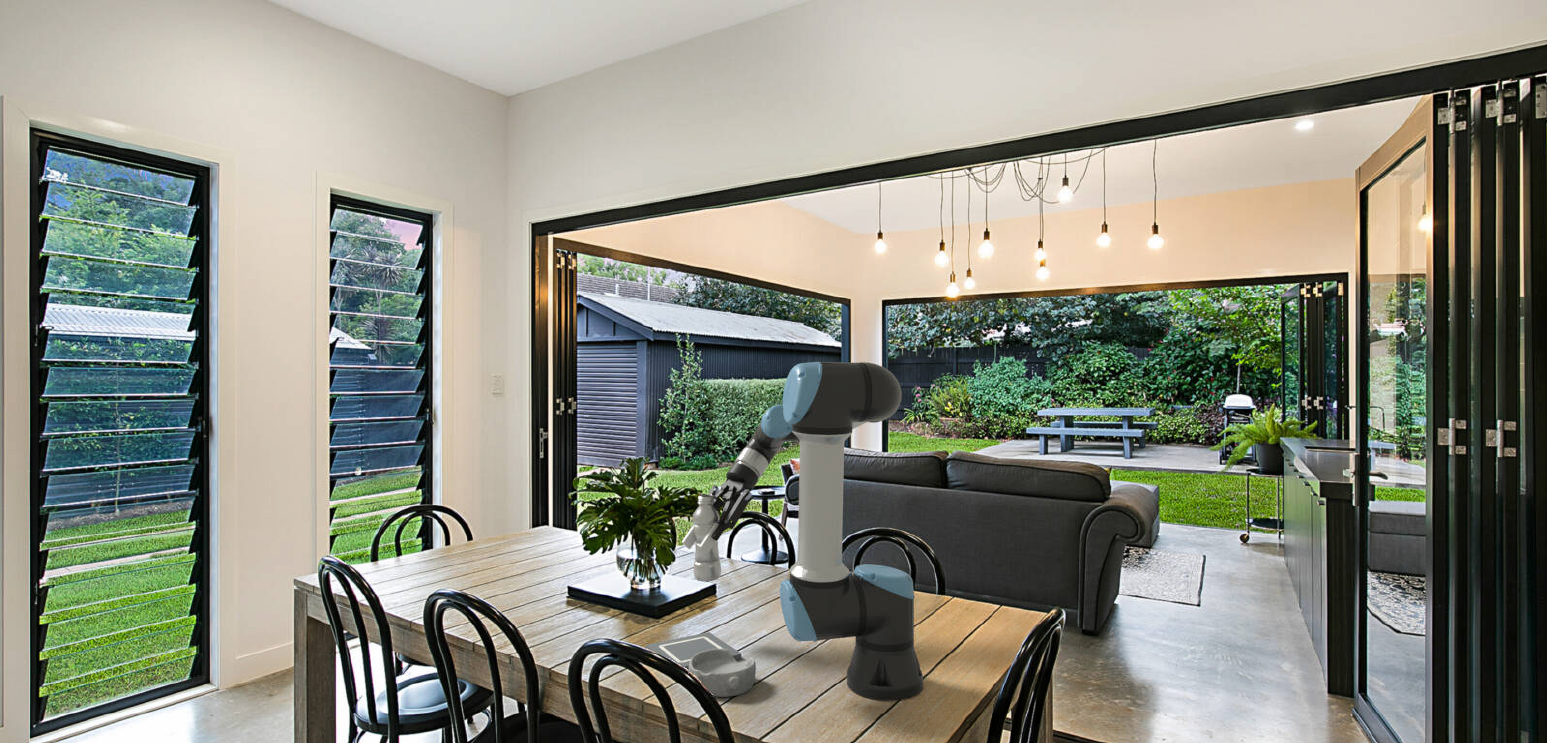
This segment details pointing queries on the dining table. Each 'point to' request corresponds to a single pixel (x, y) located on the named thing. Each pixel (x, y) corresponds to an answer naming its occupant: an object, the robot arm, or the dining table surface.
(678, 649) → the slate board
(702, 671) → the dish
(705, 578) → the plastic bottle
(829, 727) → the dining table surface
